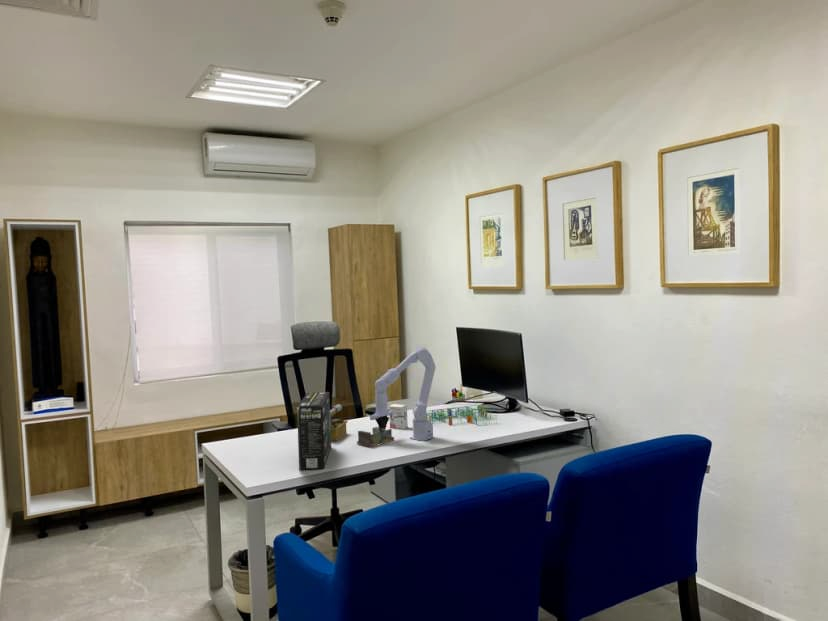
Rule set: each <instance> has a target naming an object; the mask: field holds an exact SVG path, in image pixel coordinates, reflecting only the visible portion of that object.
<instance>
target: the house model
mask: <svg viewBox="0 0 828 621" xmlns="http://www.w3.org/2000/svg"><path fill="white" fill-rule="evenodd" d="M488 412H489V415H488ZM491 412H492V411H491V409H487V408H485V406H482V405H480V404H476V405H475V404H474V405H467V406H457V407H456V406H455V407H448V408H441V409H440V408H439V409H431V410H430V409H429V410H428V412H427V417H426V418H427V419H428V421H429V422H431V423H433V422H434V424H435V423H436V424H437V423H438V422H441V420H442V421H443V423H445V422H446V420H447V419H448V425H449V426H453V419H454V418H455V419H458V418H459V419H462V418H464V419H466V421H465V422H462V420H460V424H469V423H470V424H473V422H474V421H475V426H476V425H477V426H478V423H479V425H481V423H482V426H484V420H487V421H485V426H486V425H488V424H489V425H490V424H491V420H495V423H498V422H497V421H498V420H497V419H498V418H497V417H498V416H497V414H494V415H492V414H491ZM488 418H489V419H488ZM435 421H436V422H435ZM457 424H458V422H457V423H454V425H457Z"/></svg>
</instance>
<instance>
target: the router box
mask: <svg viewBox="0 0 828 621" xmlns="http://www.w3.org/2000/svg"><path fill="white" fill-rule="evenodd" d="M330 401H331V400H330V392H329V391H321V392H320V391H317V392H316V391H315V392H311V391H310V392H307V393H306V394H305V395H304V397H303V398H302V399H301V401H300V402H299V403H298V405H297V406H296V413H297V416H296V417H297V418H296V419H297V445H298V446H297V447H298V448H297V449H298V470H316V469H324V468H325V466H326V463H327V460H328V457H329V454H330V451H331V449H332V441H331V430H330V410H331V405H330V404H331V402H330Z"/></svg>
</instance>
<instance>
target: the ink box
mask: <svg viewBox="0 0 828 621" xmlns="http://www.w3.org/2000/svg"><path fill="white" fill-rule="evenodd" d="M390 410H392V411H394V415H389V416H388V417H389V428H390V429H398V428H400V429H399V430H401V429H402V430H405V429H407V428H408V427H409V426H408V424H409V422H408V421H409V420H408V405H406V404H397V403H393V404H391V405H389V406H388V411H390Z"/></svg>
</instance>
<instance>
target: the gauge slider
mask: <svg viewBox="0 0 828 621" xmlns="http://www.w3.org/2000/svg"><path fill="white" fill-rule="evenodd" d="M371 429H372V434H375V433H378V432H382V431H384V432H386V430H387V429H384V428H381V427H379V426H374V427H372V428H371Z"/></svg>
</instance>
